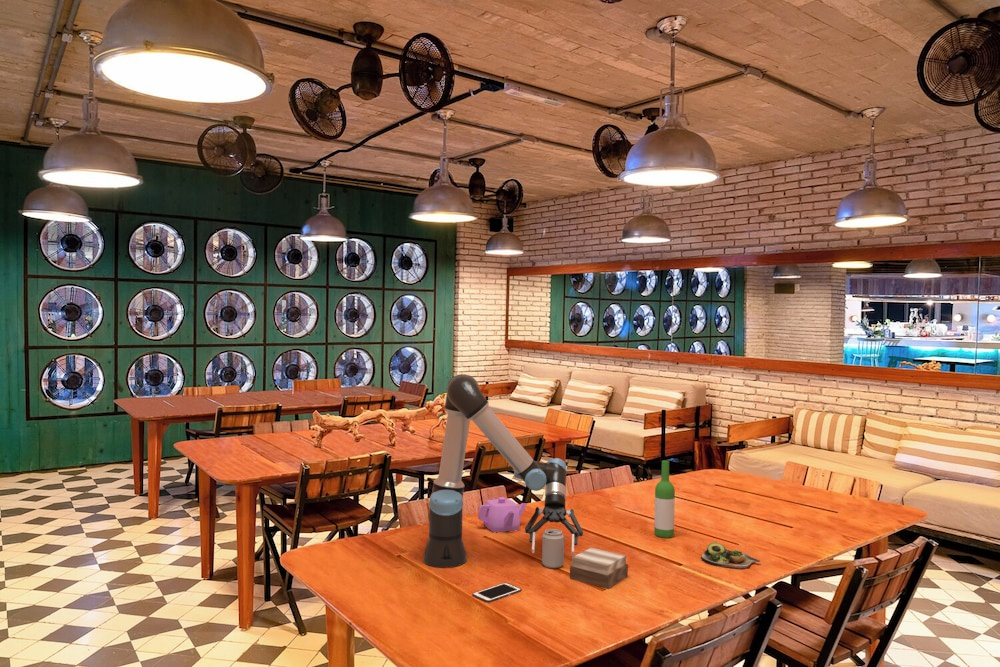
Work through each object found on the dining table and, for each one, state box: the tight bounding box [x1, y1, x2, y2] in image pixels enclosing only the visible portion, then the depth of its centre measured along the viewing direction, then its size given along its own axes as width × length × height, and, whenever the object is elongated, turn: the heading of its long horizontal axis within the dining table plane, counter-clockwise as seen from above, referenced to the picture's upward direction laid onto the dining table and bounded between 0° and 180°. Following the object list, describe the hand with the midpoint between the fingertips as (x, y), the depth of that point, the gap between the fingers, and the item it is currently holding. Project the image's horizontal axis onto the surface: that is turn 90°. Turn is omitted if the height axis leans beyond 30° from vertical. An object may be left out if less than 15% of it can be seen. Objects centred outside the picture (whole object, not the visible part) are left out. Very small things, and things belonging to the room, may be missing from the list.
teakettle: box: [477, 496, 528, 533], centre depth 279 cm, size 17×17×12 cm
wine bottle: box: [653, 459, 676, 539], centre depth 272 cm, size 8×8×30 cm
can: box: [541, 528, 565, 569], centre depth 235 cm, size 8×8×12 cm
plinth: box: [569, 547, 629, 590], centre depth 224 cm, size 14×14×7 cm
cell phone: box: [471, 582, 522, 604], centre depth 209 cm, size 8×15×1 cm, turn 133°
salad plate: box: [700, 542, 761, 569], centre depth 243 cm, size 19×18×5 cm
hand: (552, 552), depth 233 cm, fingers open, 13 cm apart
